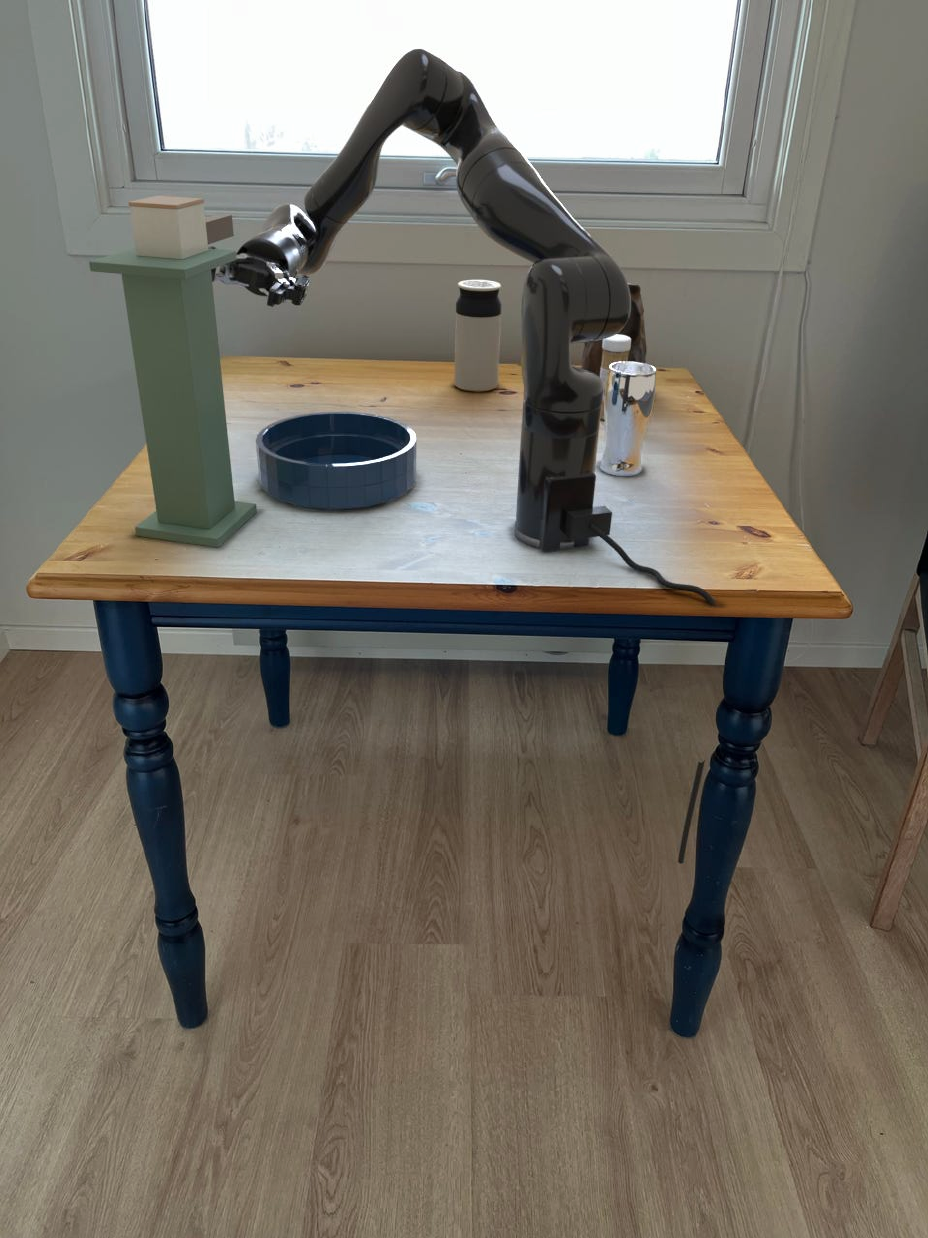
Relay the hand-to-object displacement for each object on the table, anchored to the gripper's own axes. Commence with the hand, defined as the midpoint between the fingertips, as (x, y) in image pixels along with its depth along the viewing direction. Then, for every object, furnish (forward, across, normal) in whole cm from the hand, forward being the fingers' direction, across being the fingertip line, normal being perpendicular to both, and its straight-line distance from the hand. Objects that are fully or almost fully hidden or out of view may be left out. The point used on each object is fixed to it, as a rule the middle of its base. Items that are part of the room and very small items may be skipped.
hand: (237, 288), depth 118 cm
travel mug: (-50, +33, +20) cm, 63 cm away
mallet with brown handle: (+7, -4, -5) cm, 10 cm away
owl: (-51, +58, +13) cm, 78 cm away
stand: (+14, +3, +26) cm, 30 cm away
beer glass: (-13, +56, +13) cm, 59 cm away
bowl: (-2, +17, +22) cm, 29 cm away
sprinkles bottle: (-36, +56, +14) cm, 68 cm away
